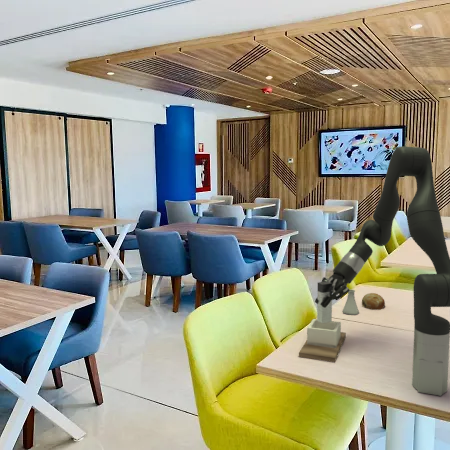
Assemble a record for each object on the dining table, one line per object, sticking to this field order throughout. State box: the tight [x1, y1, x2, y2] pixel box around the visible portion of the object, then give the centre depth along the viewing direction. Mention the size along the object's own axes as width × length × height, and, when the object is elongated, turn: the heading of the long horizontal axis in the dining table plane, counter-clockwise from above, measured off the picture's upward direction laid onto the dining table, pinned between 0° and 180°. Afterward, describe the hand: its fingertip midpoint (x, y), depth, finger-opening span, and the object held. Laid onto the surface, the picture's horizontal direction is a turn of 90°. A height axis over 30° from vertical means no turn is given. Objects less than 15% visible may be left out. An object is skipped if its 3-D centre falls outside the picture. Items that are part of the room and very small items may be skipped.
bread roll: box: [361, 292, 386, 311], centre depth 204 cm, size 10×10×8 cm
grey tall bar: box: [316, 281, 333, 323], centre depth 159 cm, size 3×4×14 cm
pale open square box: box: [306, 318, 342, 348], centre depth 161 cm, size 10×10×6 cm
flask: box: [342, 288, 360, 316], centre depth 195 cm, size 7×7×10 cm
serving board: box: [298, 331, 347, 363], centre depth 160 cm, size 24×12×2 cm, turn 157°
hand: (319, 304), depth 159 cm, fingers closed on grey tall bar, 3 cm apart
